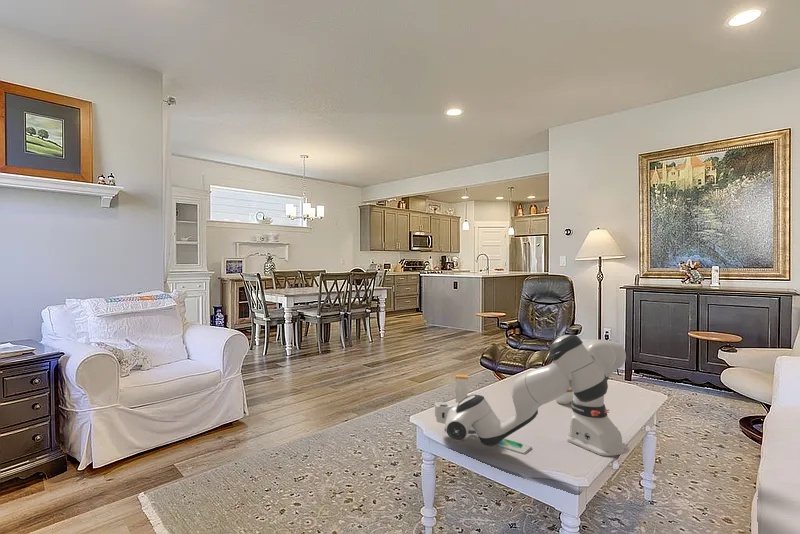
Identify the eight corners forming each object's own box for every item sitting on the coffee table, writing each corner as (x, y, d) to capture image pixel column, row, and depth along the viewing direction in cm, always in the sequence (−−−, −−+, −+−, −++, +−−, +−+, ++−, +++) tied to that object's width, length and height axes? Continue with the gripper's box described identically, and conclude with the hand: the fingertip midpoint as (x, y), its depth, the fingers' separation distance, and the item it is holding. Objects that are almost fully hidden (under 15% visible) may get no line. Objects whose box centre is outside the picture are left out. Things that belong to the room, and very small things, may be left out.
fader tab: (467, 415, 189) (467, 377, 189) (455, 414, 190) (455, 376, 190) (467, 413, 192) (467, 375, 192) (455, 412, 193) (456, 374, 193)
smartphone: (524, 453, 154) (486, 442, 164) (524, 456, 154) (486, 444, 164) (532, 446, 160) (495, 435, 169) (532, 449, 160) (495, 437, 169)
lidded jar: (570, 399, 217) (571, 380, 217) (577, 406, 207) (577, 386, 207) (548, 398, 219) (549, 379, 218) (554, 405, 208) (554, 385, 208)
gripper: (486, 409, 164) (485, 398, 178) (432, 405, 168) (436, 394, 181) (486, 425, 164) (485, 413, 178) (432, 421, 168) (436, 409, 181)
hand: (460, 403), depth 180 cm, fingers closed
